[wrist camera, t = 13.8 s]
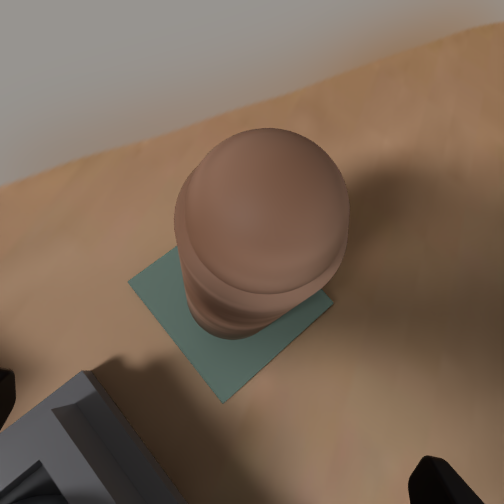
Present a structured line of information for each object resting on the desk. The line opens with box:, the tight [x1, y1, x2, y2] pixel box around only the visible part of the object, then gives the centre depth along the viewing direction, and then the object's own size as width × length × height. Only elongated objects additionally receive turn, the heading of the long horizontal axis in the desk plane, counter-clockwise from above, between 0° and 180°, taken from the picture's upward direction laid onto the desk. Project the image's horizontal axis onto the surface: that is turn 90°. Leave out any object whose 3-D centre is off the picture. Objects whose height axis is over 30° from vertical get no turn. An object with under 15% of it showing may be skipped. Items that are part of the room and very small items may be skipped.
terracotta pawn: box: [174, 128, 350, 340], centre depth 15 cm, size 5×5×13 cm
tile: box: [128, 246, 333, 403], centre depth 21 cm, size 8×8×1 cm
